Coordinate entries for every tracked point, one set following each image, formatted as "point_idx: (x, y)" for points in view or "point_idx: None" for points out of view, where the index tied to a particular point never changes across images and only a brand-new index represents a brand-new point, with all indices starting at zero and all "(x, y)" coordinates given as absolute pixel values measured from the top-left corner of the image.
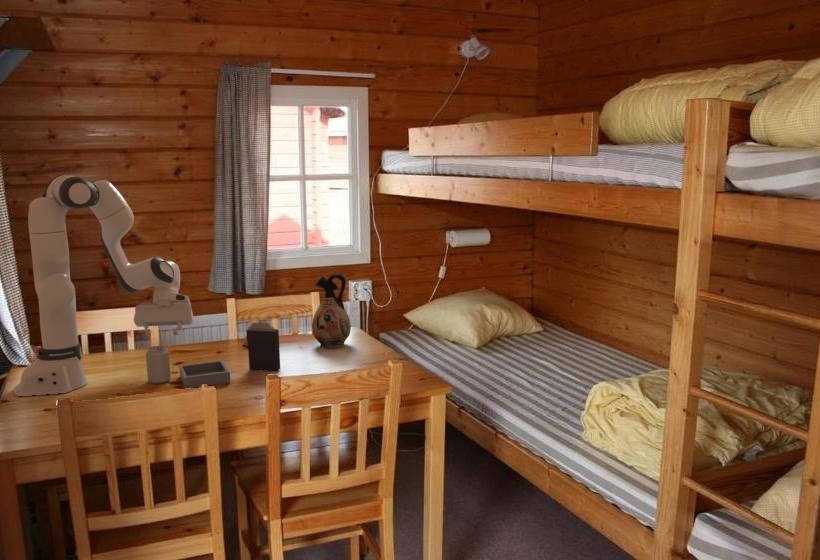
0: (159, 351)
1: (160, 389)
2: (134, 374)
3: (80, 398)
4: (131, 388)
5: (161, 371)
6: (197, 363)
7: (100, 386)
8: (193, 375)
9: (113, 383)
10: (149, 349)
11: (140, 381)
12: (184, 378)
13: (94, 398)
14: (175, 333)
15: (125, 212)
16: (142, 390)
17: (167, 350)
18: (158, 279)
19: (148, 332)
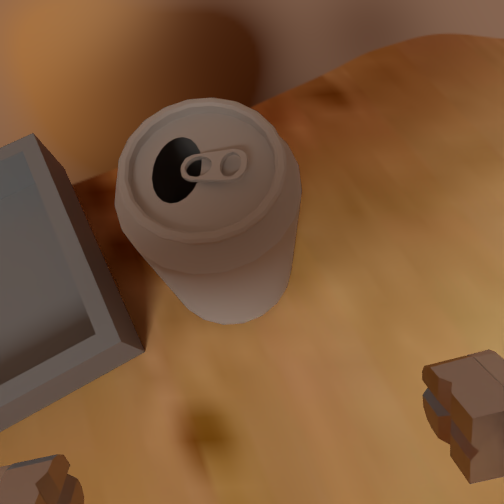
0: (159, 125)
1: None
2: None
3: (464, 42)
4: (320, 159)
5: (185, 196)
6: (2, 403)
7: (493, 170)
8: (49, 324)
9: (459, 214)
10: (273, 163)
11: (333, 255)
12: (33, 135)
13: (406, 47)
14: (29, 463)
15: None
16: None
17: (121, 206)
18: None
19: (460, 369)
